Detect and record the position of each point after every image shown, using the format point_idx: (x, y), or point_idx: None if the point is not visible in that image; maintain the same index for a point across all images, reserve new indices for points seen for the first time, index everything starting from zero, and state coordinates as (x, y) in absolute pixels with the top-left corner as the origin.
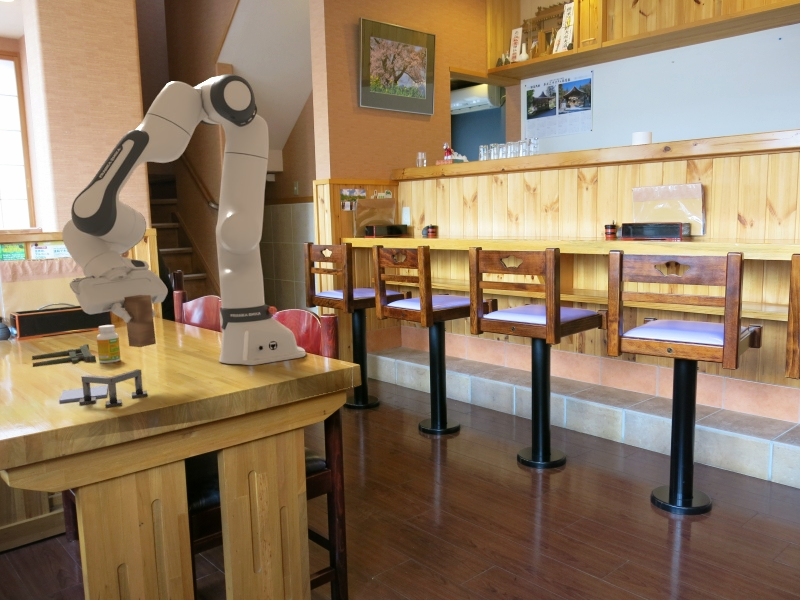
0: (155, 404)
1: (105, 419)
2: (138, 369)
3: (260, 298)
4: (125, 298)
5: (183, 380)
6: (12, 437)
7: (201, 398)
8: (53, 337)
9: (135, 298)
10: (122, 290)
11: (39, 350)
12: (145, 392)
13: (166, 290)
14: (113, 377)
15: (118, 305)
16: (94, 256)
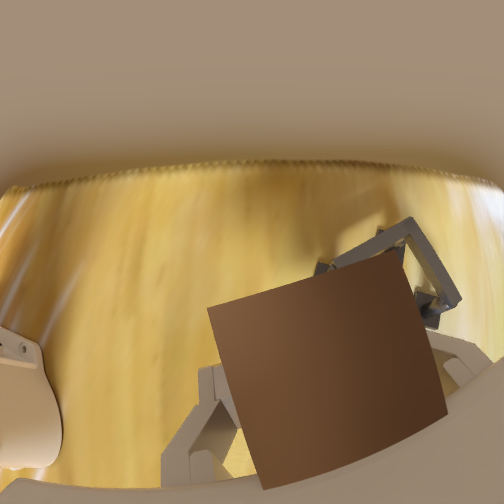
0: (322, 192)
1: (407, 171)
2: (337, 268)
3: None
4: (438, 395)
5: (190, 353)
6: (500, 189)
7: (240, 170)
8: None
9: (386, 254)
10: (462, 501)
11: None
12: (318, 274)
13: (8, 487)
14: (406, 223)
15: (466, 360)
16: None
